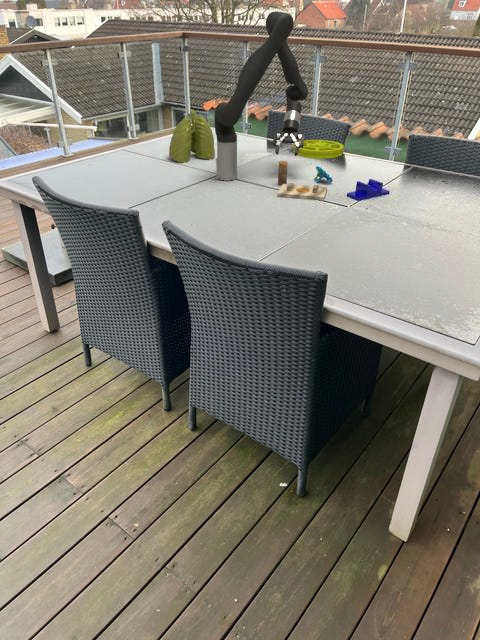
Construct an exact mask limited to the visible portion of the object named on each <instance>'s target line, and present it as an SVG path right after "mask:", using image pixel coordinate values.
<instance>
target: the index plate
mask: <svg viewBox="0 0 480 640" xmlns="http://www.w3.org/2000/svg"><path fill="white" fill-rule="evenodd" d="M327 192H328V187H327V186H319V184H313V185H301V184H294V182H289V183H287V184H283V185H282V186H280V188H279V189H278V191H277V193H276V197H277V198H288V199H301V200H313V201H314V200H315V201H325V199H326V195H327Z"/></svg>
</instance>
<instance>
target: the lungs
mask: <svg viewBox="0 0 480 640" xmlns="http://www.w3.org/2000/svg"><path fill="white" fill-rule="evenodd" d="M189 112H190V113H189V114H190V115H186V116H184V118H183V119H182V120H181V121H180V122H179V123H178V124H177V125H176V127H175V128H174V129H173V132H172V136H171V139H170V143H169V147H168V148H169V149H168V150H169V151H168V156H169V157H170V158H171V159H172V160H174V161H175V162H178V163H181V164H185V163H184V162H186V163H189V162H190V159H191V153H193V154H195V156H196V158H200V159H204V160H206V159H207V160H209V159H211V160H213V159H214V158H215V157H216V156H215V155H216V151H215V137H214V134H213V133H214V132H213V131H212V129H211V125H210V124H209V122H208V121H207V119H206V118H205V117H204V115H202V114H197V113H196V110H195V109H190V111H189ZM196 114H197V115H196ZM188 161H189V162H188Z"/></svg>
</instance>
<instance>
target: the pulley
mask: <svg viewBox="0 0 480 640" xmlns="http://www.w3.org/2000/svg"><path fill="white" fill-rule="evenodd" d="M297 142H298V144H301V140H299V141H297ZM344 146H345V145H344V144H342V143H341V142H337V141H332V140H326V139H325V140H324V139H309V140H305V139H304V146H303V148H299V151H298V155H297V156H298V157H303V158H307V159H308V158H309V159H319V160H320V159H321V160H323V159H325V160H326V159H333V158H334V159H335V158H339V157H342V154H343V155H344V148H345V147H344ZM295 148H296V146H295V145H294V144H293V154H294V155H295ZM338 156H339V157H338Z"/></svg>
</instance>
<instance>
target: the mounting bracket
mask: <svg viewBox="0 0 480 640" xmlns="http://www.w3.org/2000/svg"><path fill="white" fill-rule="evenodd" d="M355 184H356V185H355V190H354V191H351V192H347V193H346V197H348V198H350V199H352V200H355V201H358V202H359V201H363V200H369V199H373V197H374V198H379V197H382V195H383V196H387V195H390V190H388V189H386V188H383V186H384V183H383V182H381V181H379V180H376V179H374V178H369V179H368V182H367V183H365V182H361V181H360V180H358V181H356V183H355Z"/></svg>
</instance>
